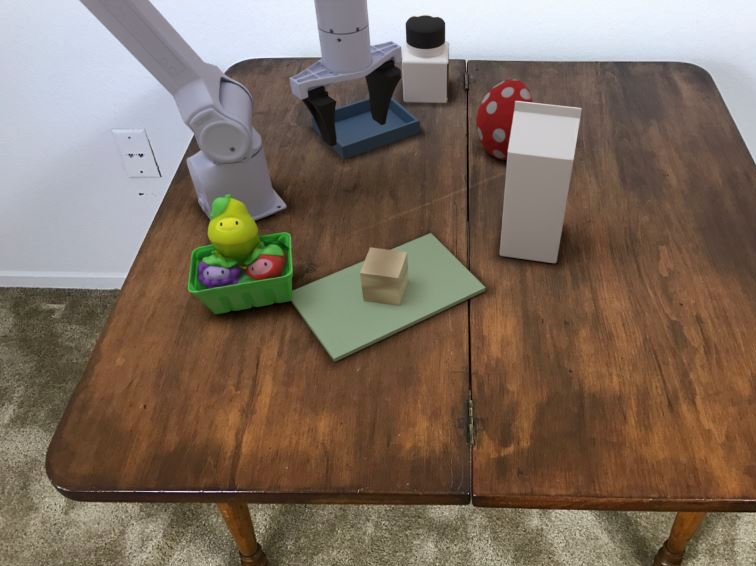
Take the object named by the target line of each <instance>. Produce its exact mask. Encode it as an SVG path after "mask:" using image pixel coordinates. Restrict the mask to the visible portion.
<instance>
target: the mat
mask: <svg viewBox="0 0 756 566" xmlns="http://www.w3.org/2000/svg"><path fill="white" fill-rule="evenodd" d="M390 250H394V251H402V252H407V257H408V276H409V281H408V284H407V287H406V290H405V293H404V296H403V299H402V302H401V305H400V306H398V305H391V304H384V303H377V302H370V301H363V294H362V286H361V278H360V271H361V269H362V266H363V264H364V261H365V260H363V261H360V262H358V263H355V264H353V265H351V266H350V265H349V266H348V267H346V268H344V269H341V270H339V271H335V272H334V273H331V274H329V275H327V276H325V277H322V278H320V279H317V280H315V281H311V282H310V283H308V284H305V285H302V286H301V287H298V288H296V289H292V300H291V301H290V302H291V304H292V305H293V306H294V308H295V309H296V311H297V312H298V314H299V315H300V316H301V318H302V319H303V321H304V322H305V323H306V325H307V326H308V328H309V329H310V330H311V331H312V333H313V335H314V336H315V337H316V338H317V340H318V342H319V343H320V345H321V346H322V347H323V348H324V350H325V352H326V353H327V354H328V355H329V357H330V358H331V360H332V361H333V362H334V363H336V362H338V361H341V360H342V359H344V358H346V357H349V356H350V355H353V354H356V353H357V352H359V351H361V350H364V349H365V348H367V347H370V346H372V345H374V344H377V343H379V342H380V341H382V340H385V339H386V338H387V339H388V338H389V337H391V336H393V335H396V334H398V333H400V332H402V331H404V330H405V329H408V328H410V327H413V326H414V325H416V324H418V323H421V322H422V321H425V320H427V319H429V318H431V317H433V316H435V315H437V314H439V313H441V312H445V311H446V310H448V309H451V308H452V307H455V306H457V305H458V304H462V302H465V301H468V300H470V299H471V298H473V297H475V296H478V295H480V294H482V293H485V292H486V286H485V285H484V284H483V283H482V282H481V281H480V280H479V279H478V278H477V277H476V276H475V275H474V274H473V273H472V272H471V271H470V270H469V269H468V268H467V267H466V266H465V265H463V263H462V262H461V261H460V260H458V258H457V257H455V255H454V254H453V253H452V252H451V251H449V249H448V248H447V247H445V245H443V244H442V243H441V241H439V239H437V238H436V237H435V236H434V234H432V232H430V233H428V234H424V235H423V236H420V237H417V238H415V239H413V240H411V241H408V242H406V243H403V244H401V245H398V246H396V247H393V248H392V249H391V248H390Z"/></svg>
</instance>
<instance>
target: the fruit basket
mask: <svg viewBox="0 0 756 566" xmlns="http://www.w3.org/2000/svg"><path fill="white" fill-rule="evenodd" d="M210 217H211V220H209V224H208V227H207V236H208V240H209V241H210V243H211V244H208V245H203V246H198V247H196V248H195V249H193V250H192V252H191V255H190V263H189V264H190V265H189V273H188V281H187V290H188V292H189V293H191V294H192V295H193V296H195V297H196V298H198V299H199V300H200V301H201V302H202V303H203V304H204V305H205V306H206V307H207V308H208V309H209V310H210V311H211V312H212V313H213V314H214V315H221V314H225V313H229V312H231V311H233V312H235V311H236V312H237V311H243V310H249V309H251V308H253V307H254V308H261V307H265V306H271V305H273V304H282V303H287V302H291V300H292V291H293V279H292V278H293V276H294V267H293V253H292V251H293V250H292V235H291V234H290V233H289V232H287V231H286V232H285V231H283V232H277V233H271V234H265V235H259V228H258V224H257V223H256V220H255V221H254V220H253V218H252V217H251V216H250V215H249V213H248V211H247V208H246V206H245V205H244V203H242V202H240V201H238V200H236V199H233V198H232V196H231V195H225V198H223V197H219V198H216V199H215V200H214V201H213V203H212V212H211V214H210Z"/></svg>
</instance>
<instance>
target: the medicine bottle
mask: <svg viewBox="0 0 756 566" xmlns="http://www.w3.org/2000/svg"><path fill="white" fill-rule="evenodd" d="M401 79H402V95H403V96H402V98H403V102H404V103H427V104H429V103H432V104H433V103H435V104H436V103H437V104H447V103H448V102H449V89H450V87H449V86H450V42H449V41H446V22H445V20H444V19H443V18H442V17H441V16H439V15H435V14H432V13H418V14H415V15H412V16H410V17H409V18H408V19H407V20H406V21H405V41H404V44H403V51H402V62H401Z"/></svg>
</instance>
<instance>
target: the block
mask: <svg viewBox="0 0 756 566" xmlns="http://www.w3.org/2000/svg"><path fill="white" fill-rule="evenodd" d="M363 261H364V264H363V266H362V269H361V271H360V278H361V286H362V294H363V301H370V302H377V303H384V304H391V305H398V306H400V305H401V302H402V299H403V296H404V293H405V290H406V287H407V284H408V281H409V276H408V257H407V252H402V251H394V250H391V249H385V248H379V247H369V250H368V252H367V255H366V257H365V259H364V260H363Z"/></svg>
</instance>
